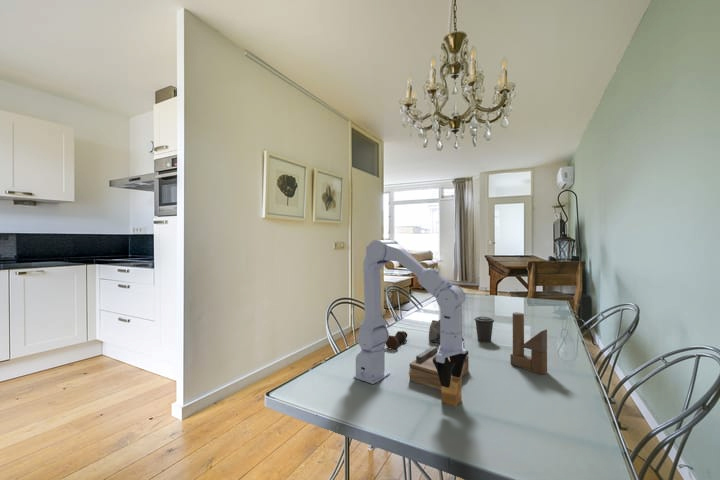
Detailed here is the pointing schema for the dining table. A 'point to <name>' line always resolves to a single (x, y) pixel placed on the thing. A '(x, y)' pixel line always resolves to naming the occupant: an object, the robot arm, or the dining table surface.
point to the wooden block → (528, 347)
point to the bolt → (396, 339)
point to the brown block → (452, 392)
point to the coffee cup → (484, 328)
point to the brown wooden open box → (432, 376)
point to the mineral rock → (435, 331)
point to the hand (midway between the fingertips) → (451, 381)
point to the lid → (427, 361)
